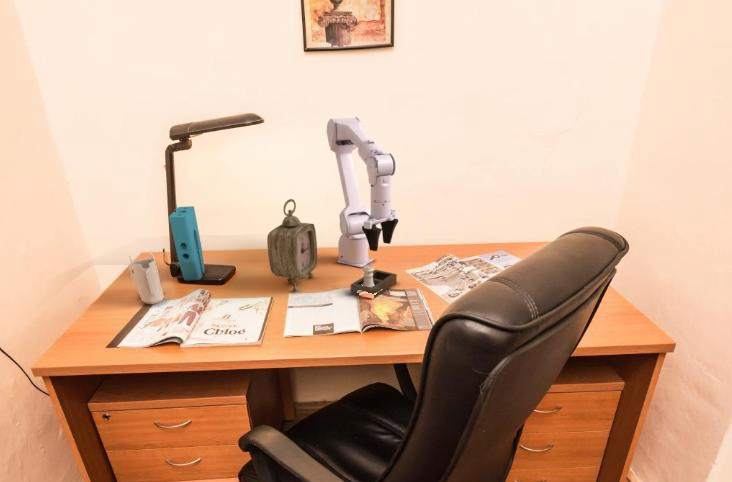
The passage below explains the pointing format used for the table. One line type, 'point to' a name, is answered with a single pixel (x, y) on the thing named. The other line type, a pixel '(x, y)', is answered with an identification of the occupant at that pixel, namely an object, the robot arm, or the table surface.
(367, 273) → the rook chess piece
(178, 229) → the block
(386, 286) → the rack
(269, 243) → the tabletop clock
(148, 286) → the cable organizer
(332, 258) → the table surface
